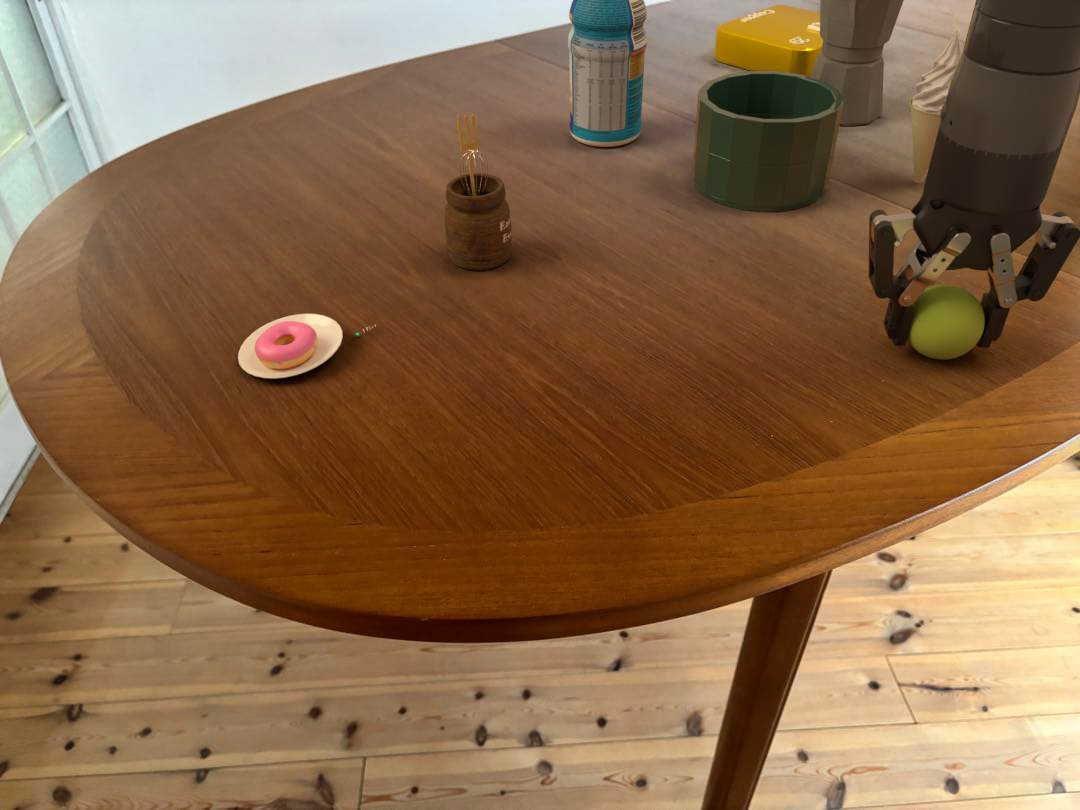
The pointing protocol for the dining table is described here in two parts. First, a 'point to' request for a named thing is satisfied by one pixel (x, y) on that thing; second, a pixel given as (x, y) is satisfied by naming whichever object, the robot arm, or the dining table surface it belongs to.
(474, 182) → the utensil holder
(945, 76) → the ice cream cone
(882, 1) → the coffeepot
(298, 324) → the donut
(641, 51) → the beverage bottle
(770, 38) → the element tile
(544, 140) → the dining table surface
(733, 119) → the pot
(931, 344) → the guava
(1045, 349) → the dining table surface
